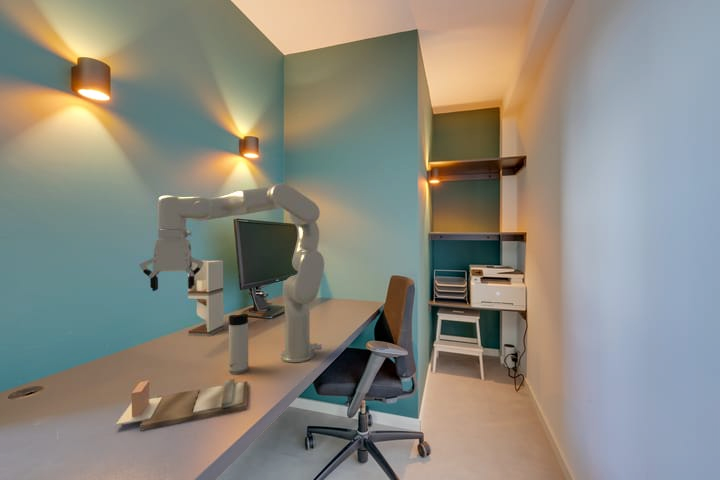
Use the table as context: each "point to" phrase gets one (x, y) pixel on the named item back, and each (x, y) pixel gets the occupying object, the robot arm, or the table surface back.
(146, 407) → the stub
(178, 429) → the table surface
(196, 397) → the ticket board
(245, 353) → the travel mug
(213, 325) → the display case
